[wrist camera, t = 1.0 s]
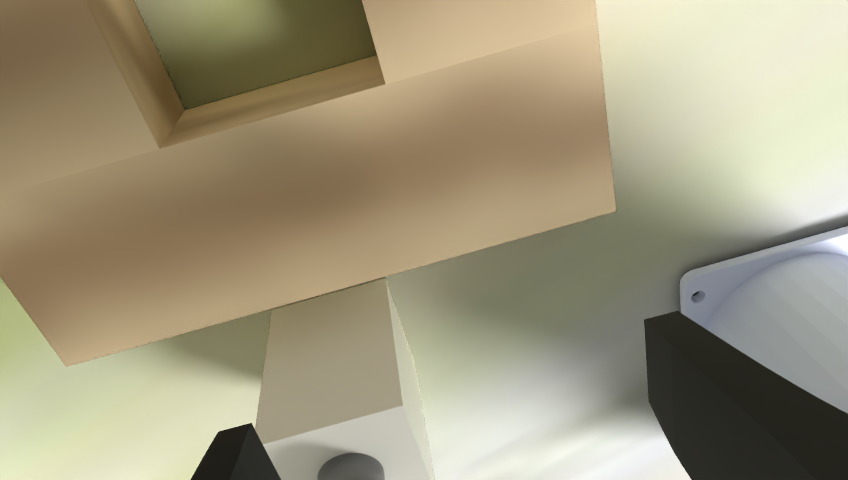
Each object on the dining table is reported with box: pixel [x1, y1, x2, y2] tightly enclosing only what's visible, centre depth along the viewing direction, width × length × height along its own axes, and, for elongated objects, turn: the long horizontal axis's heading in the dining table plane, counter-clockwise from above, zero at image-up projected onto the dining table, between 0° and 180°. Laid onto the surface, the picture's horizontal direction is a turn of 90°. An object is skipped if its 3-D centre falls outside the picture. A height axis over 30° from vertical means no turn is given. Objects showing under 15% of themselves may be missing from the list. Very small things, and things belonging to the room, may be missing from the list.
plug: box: [255, 278, 435, 480], centre depth 19 cm, size 4×4×8 cm
